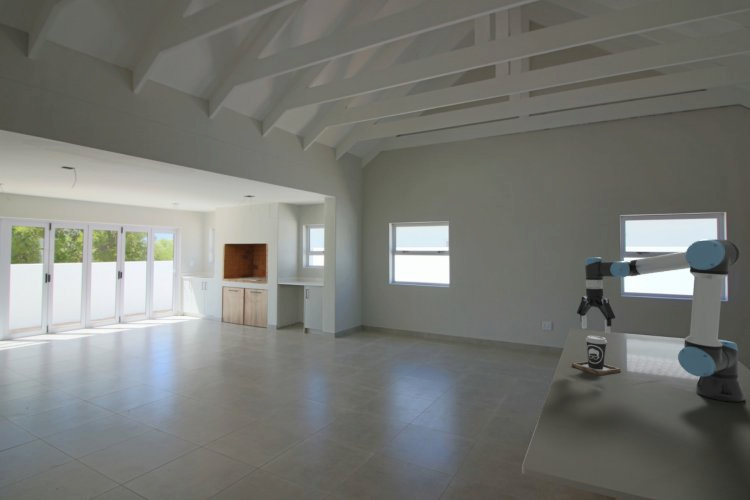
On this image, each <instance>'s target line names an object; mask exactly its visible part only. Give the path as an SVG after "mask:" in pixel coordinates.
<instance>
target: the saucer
mask: <svg viewBox="0 0 750 500" xmlns="http://www.w3.org/2000/svg"><path fill="white" fill-rule="evenodd" d="M582 366H584V367H588V368H590V367H589V366H588V364H585V365H582ZM591 369H593V368H591ZM594 370H597V371H603V370H610V368H607V367H604V366H603V369H594Z"/></svg>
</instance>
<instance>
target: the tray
mask: <svg viewBox="0 0 750 500" xmlns="http://www.w3.org/2000/svg"><path fill="white" fill-rule="evenodd" d="M585 364H588V360H587V361H578V362H572V363H571V367H573V368H576V369H578V370H582V371H585V372H589V373H590V374H593V375H597V376H604V375H605V376H606V375H611V374H616V373H617V374H618V373H621V372H622V371H621V368H620V367H616V366H613V365H609V364H606V363H604V367H607V368H610V370H603V371H597V370H594V369H591V368H588V367H584V366H582V365H585Z"/></svg>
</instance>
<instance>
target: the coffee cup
mask: <svg viewBox="0 0 750 500" xmlns="http://www.w3.org/2000/svg"><path fill="white" fill-rule="evenodd" d="M585 342H586V351H587V361H588V366H589V367H590V368H593V369H603V366H604V364H605V357H606V356H605V355H606V349H607V348H606V347H607V344H608V341H607V339H606V337H603V336H599V335H587V337H586V338H585Z"/></svg>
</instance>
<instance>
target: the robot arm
mask: <svg viewBox="0 0 750 500" xmlns="http://www.w3.org/2000/svg"><path fill="white" fill-rule="evenodd" d="M740 258H741V249H740V247H739V246H738V245H737V244H736V243H734V242H733V241H730V240H727V239H717V238H716V239H713V238H705V239H699V240H697V241H694V242H693V243H691V244H690V245H689V246H688V247H687V249H686V250H685V251H680V252H674V253H666V254H660V255H656V256H650V257H644V258H637V259H633V260H616V261H614V260H613V261H609V260H608V261H605V260H603V258H602V257H587V258H585V265H584V266H585V267H584V269H585V287H586V289H585V292H586V293H585V294H586V296H582V297H581V301H580V304H579V306H578V308H577V311H576V314H577V315H580V322H581V329H583V330H584V329H587V328H588V322H587V321H588V320H587V318H588V316H587V313H588V312H589V310H590V309H591V307H594V308H597V309H599V311H600V312H601V313H602V315H603V317H604V318H605V319H604V333H605V334H611V327H612V320H614V319H616V315H615V313H614V311H613V309H612V307H611V305H610V300H609V298H603V297H604V289H603V288H604V278H605V277H606V278H607V277H608V278H627V277H637V276H640V275H641V276H642V275H648V274H656V273H663V272H664V273H665V272H671V271H678V270H685V269H689V273H690V274H691V275H692V276H693V290H692V303H691V316H690V331H689V335H688V336H686V337H685V338H684V343H683V345H684V347H683V348H681V350H680V351H679V352H678V354H677V361H678V363H679V365H680V367H681V368H683V370H684V371H685V372H687V373H688V374H689V375H692V376H695V377H699V379H698V381H697V383H696V386H695V392H696V393H697V394H699V395H700V396H703V397H705V398H708V399H713V400H717V401H723V402H732V403H734V402H735V403H738V402H743V401H744V400H745V392H744V390H743V387H742V385H741V383H740V380H739V350H738V344H737V343H736V342H734V341H728V340H724V339H718V338H719V329H720V327H719V326H720V316H721V314H720V313H721V304H722V303H721V302H722V291H723V281H724V280H723V279H724V278H726V277H727V276H728V275H729V272H730V271H729V269H730V268H731V267H733V266H734V265H736V264H737V263H738V261H739V260H740Z"/></svg>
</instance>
